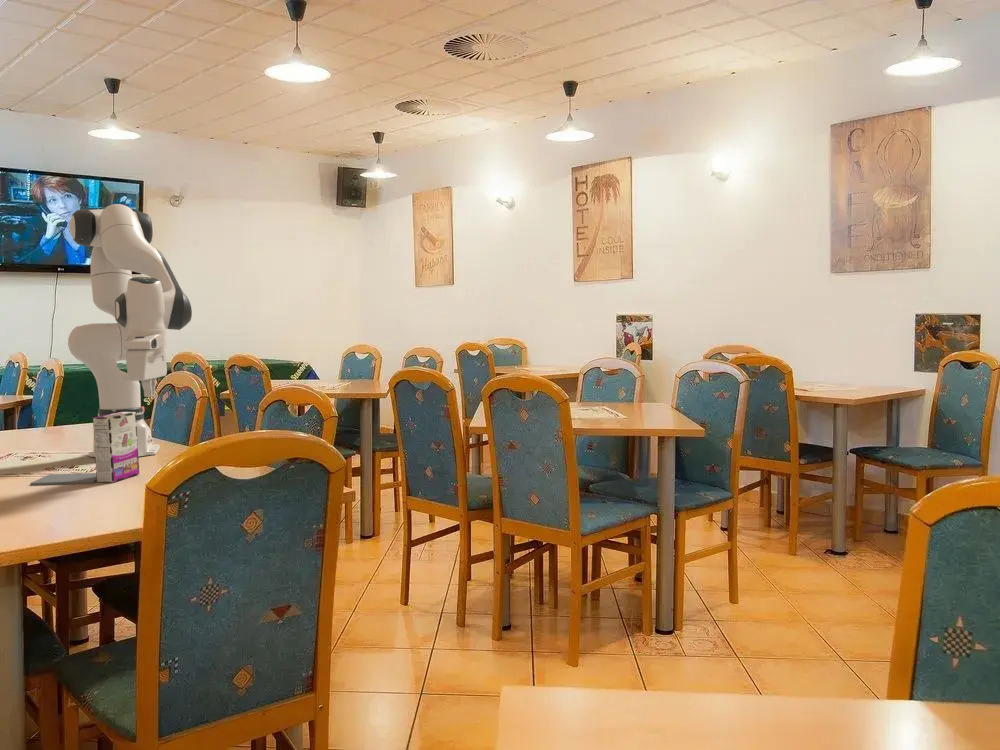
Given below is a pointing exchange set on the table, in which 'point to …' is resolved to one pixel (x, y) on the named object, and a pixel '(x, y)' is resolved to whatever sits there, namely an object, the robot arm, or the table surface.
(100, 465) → the candy bar box
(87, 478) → the slate mat
